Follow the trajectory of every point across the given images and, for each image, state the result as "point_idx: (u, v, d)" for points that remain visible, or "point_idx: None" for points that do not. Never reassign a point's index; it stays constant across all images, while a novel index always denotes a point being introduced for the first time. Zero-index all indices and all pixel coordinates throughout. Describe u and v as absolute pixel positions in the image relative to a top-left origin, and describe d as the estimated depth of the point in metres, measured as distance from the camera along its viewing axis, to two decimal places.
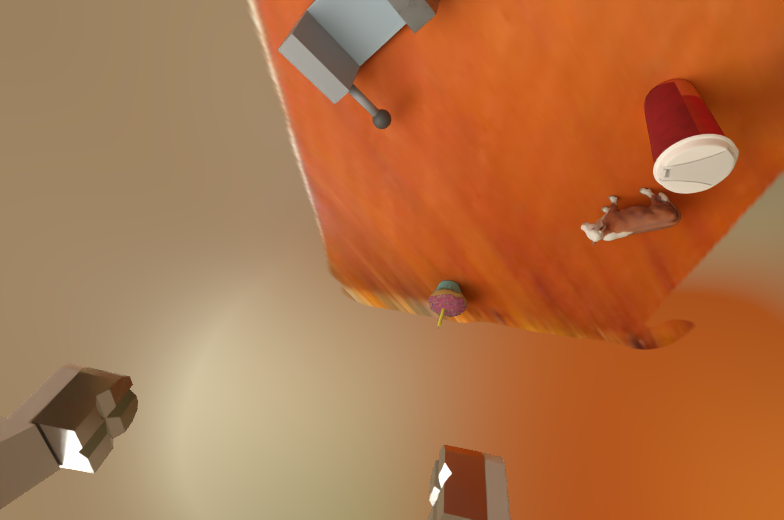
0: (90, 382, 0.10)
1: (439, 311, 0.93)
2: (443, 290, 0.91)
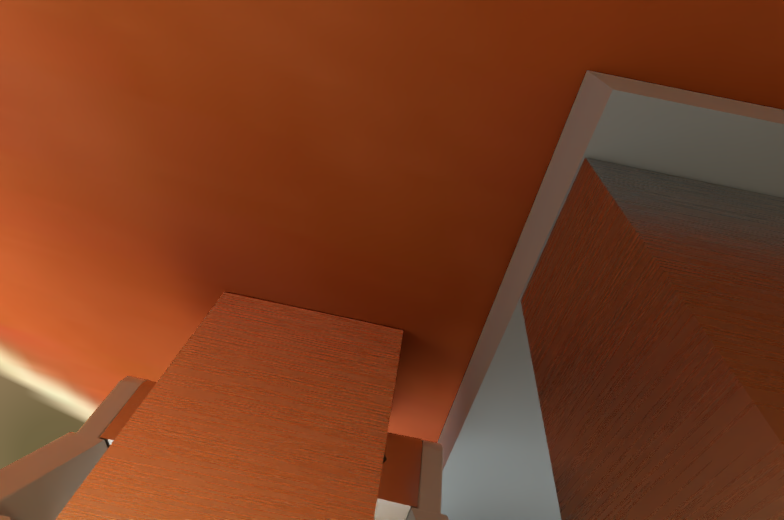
0: None
1: None
2: None
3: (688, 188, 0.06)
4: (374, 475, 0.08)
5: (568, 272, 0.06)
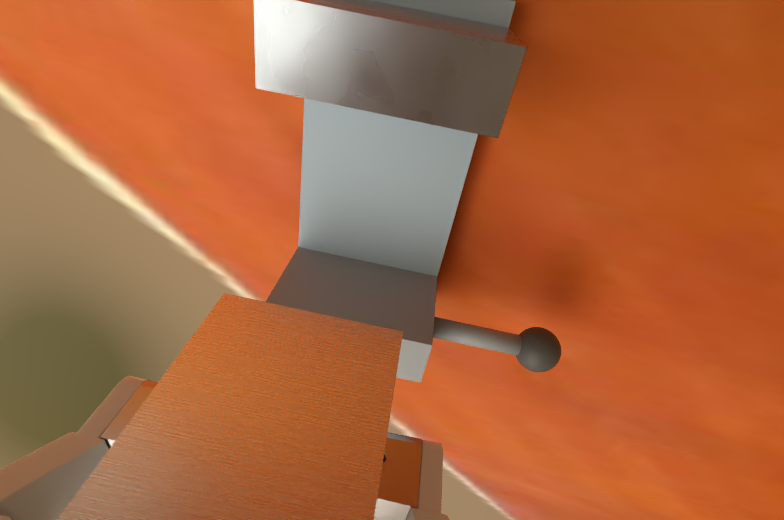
0: None
1: None
2: None
3: None
4: (374, 477, 0.08)
5: None
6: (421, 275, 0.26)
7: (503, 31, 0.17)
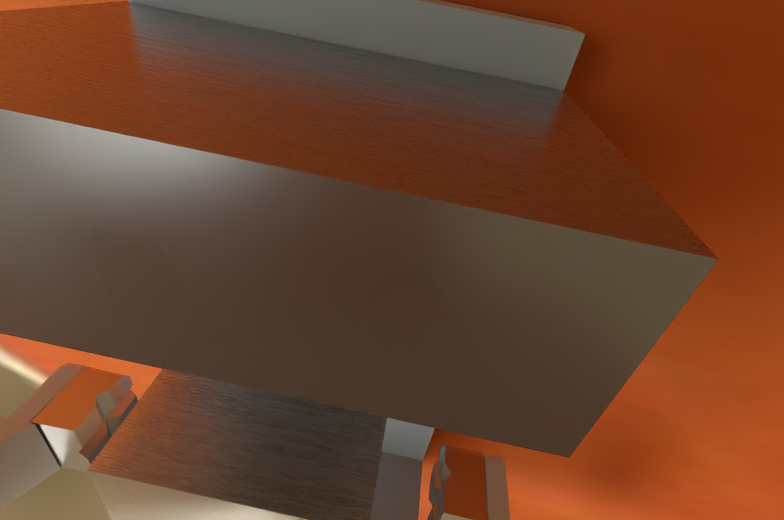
0: (90, 382, 0.10)
1: None
2: None
3: (180, 17, 0.08)
4: (379, 429, 0.09)
5: None
6: (396, 460, 0.16)
7: (566, 116, 0.07)
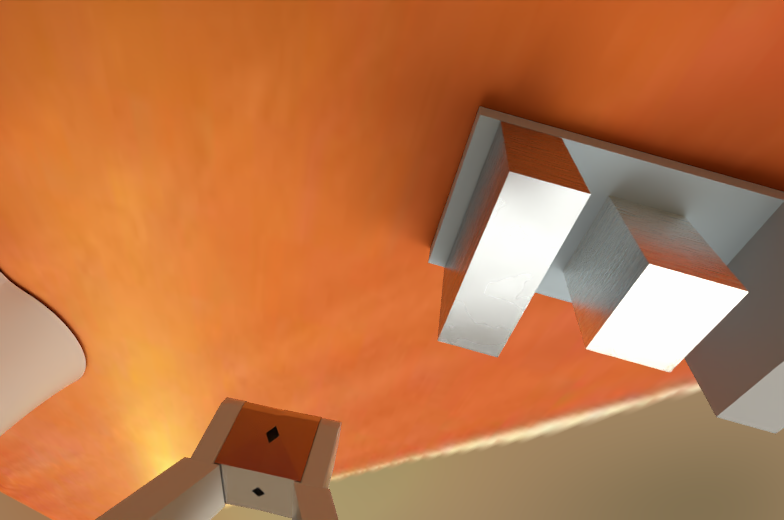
0: (256, 418, 0.10)
1: None
2: None
3: (451, 253, 0.24)
4: (631, 239, 0.18)
5: None
6: (771, 220, 0.20)
7: (499, 145, 0.18)
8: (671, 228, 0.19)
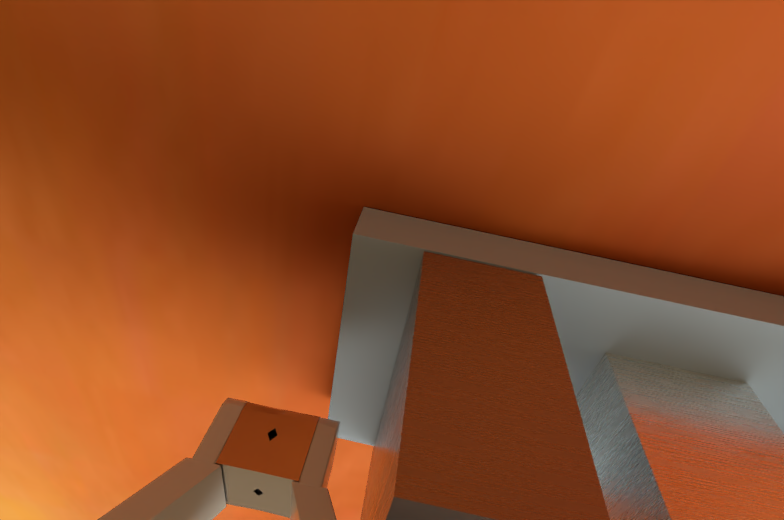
0: (257, 419, 0.10)
1: None
2: None
3: (376, 438, 0.14)
4: (660, 505, 0.08)
5: None
6: None
7: (413, 321, 0.09)
8: (732, 434, 0.10)
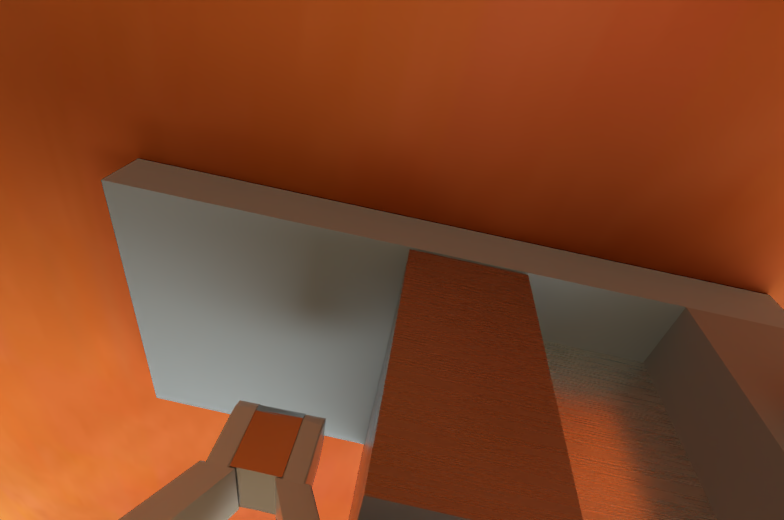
0: (270, 421, 0.10)
1: None
2: None
3: None
4: None
5: None
6: (667, 342, 0.11)
7: (395, 319, 0.09)
8: (611, 410, 0.10)
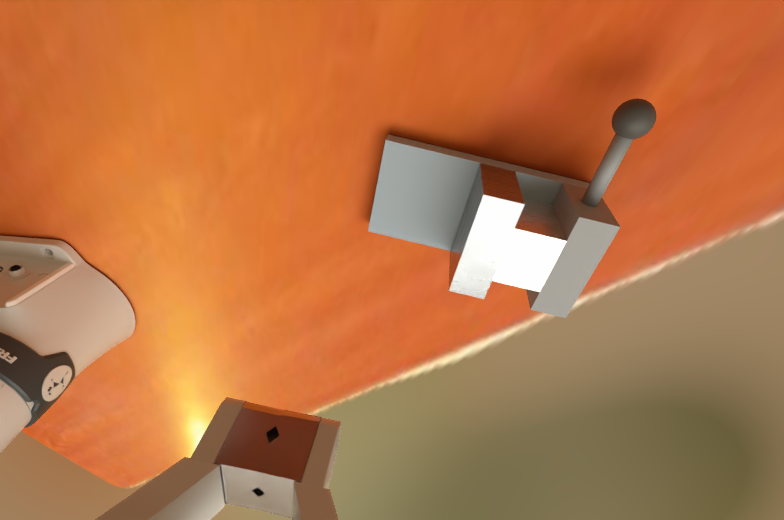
0: (256, 418, 0.10)
1: None
2: None
3: (454, 241, 0.38)
4: None
5: None
6: (557, 194, 0.35)
7: (479, 178, 0.33)
8: (538, 210, 0.34)
